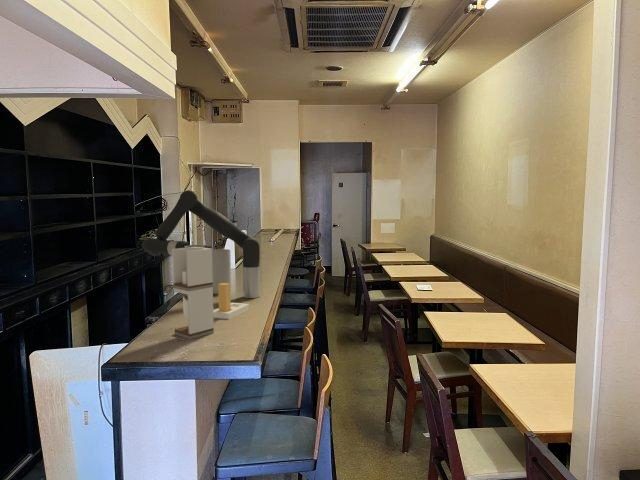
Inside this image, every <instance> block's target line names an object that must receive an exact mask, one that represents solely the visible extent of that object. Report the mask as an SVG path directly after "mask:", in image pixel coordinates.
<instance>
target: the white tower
mask: <svg viewBox="0 0 640 480" xmlns="http://www.w3.org/2000/svg"><path fill="white" fill-rule="evenodd" d="M212 250H213V248H212V249H211V248H203V247H189V248H179V249H172V255H171V256H172V284H173V287H172V288H173V290H172V291H173V292H174V293H180V294H182V308H183V310H182V312H183V315H184V316H185V317H186V318H187V319H188V320H187V322H188V323H187V324H188V326H187V325H186V326H183V327H179V328H175V329H174V335H176V336H179V337H182V338H185V339H187V340H193V339H196V338H201V337H203V336H206V335H210V334H214V333H215V332H214V331H215V330H214V328H215V327H214V326H215V325H214V318H213V310H214V294H213V273H212Z"/></svg>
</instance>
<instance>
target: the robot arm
mask: <svg viewBox="0 0 640 480" xmlns="http://www.w3.org/2000/svg"><path fill="white" fill-rule="evenodd" d="M177 200H178V201H177V202H176V204H175V206H174V208H172V210H171V211H170V212H169V214H168V215H167V216H166V217H165V219H164V220H163V221H162V222H161V224H160V225H159V226H158V227H157V229H156V230H155V231H154V235H155V237H156V238H154V237H152V238H151V237H150V238H146V239H144V240H143V242H142V243H141V247H142V249H143V250H144V251H145V252H146V253H148V254H150V255H151V256H152V257H157V256H158V255H160V254H162V255H169V256H172V249H179V248H189V247H202V248H211V249H212V250H213V248H212V246H210V245H206V244H205V245H203V244H190V242H189V241H187V240H168V238H170V236H171V235H172V233H173V232H174V231H175V229H176V228H177V226H178V224H179V223H180V221H181V220H182V218H183V217H184V215H185V214H186V213H188V211H189V212H190V213H191V214H194V216H197V217H198V218H199V219H200V220H202V221H203V222H204V223H205V224H206V225H208V226H209V227H210V228H211V229H213V231H215V232H216V233H219V234H220V235H222V236H223V237H225V238H227V239H229V240H231V241H233V242H234V243H235V244H236V245H238V246H239V247H240V249H242V296H243V299H256V298H260V296H261V284H260V283H261V282H260V281H261V280H260V260H261V257H260V253H261V252H260V243H259V241H258V240H257V239H256V238H254V237H251V235H249V234H247V233H246V232H244V231H242V230H241V229H240V228H239V227H238V226H236V225H235V223H233V222H232V221H231V220H230V219H228V218H227V217H226V216H225V215H223V214H222V213H220V212H218V211H216V210H215V209H213V208H211V207H208V205H205V204H204V203H202V202H201V200H199V199H198V195H197V194H196V192H195V191H194V190H190V189H189V190H184V191H183V192H181V194H180V195H179V197H178V199H177Z"/></svg>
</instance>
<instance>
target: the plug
mask: <svg viewBox="0 0 640 480" xmlns="http://www.w3.org/2000/svg"><path fill="white" fill-rule="evenodd" d="M217 297H218V308H219V311H221V312H228V311H230V310H231V303H232V302H231V301H232V300H231V292H230V283H221V284H218V294H217Z"/></svg>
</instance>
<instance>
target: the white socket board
mask: <svg viewBox="0 0 640 480" xmlns="http://www.w3.org/2000/svg"><path fill="white" fill-rule="evenodd" d="M248 310H250V303H240V302H231V310H230V311H228V312H221V311H219V307H218V308H215V309H213V319H225V320H230V319H232V318H235V317H236V316H238V315H240V314H242V313H244V312H246V311H248Z"/></svg>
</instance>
